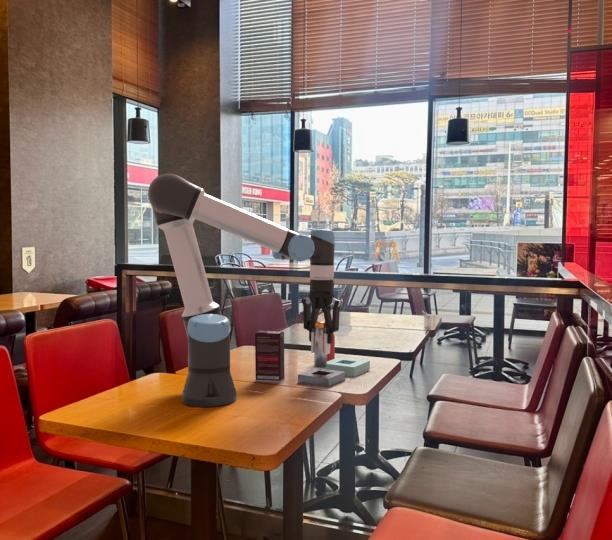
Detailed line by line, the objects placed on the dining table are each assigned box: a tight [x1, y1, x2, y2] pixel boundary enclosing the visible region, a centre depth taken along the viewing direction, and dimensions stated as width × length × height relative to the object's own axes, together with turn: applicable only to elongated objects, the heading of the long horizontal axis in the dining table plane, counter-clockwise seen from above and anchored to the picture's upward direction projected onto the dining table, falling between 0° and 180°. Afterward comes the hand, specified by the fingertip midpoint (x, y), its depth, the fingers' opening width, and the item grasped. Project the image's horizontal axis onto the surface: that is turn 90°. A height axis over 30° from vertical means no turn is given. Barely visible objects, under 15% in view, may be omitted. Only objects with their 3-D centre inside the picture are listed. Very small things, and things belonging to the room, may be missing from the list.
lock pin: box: [313, 320, 327, 369], centre depth 183 cm, size 4×4×14 cm
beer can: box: [327, 332, 336, 361], centre depth 213 cm, size 7×7×12 cm
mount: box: [297, 367, 346, 388], centre depth 184 cm, size 11×11×3 cm
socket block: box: [321, 356, 371, 378], centre depth 198 cm, size 12×12×4 cm
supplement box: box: [254, 330, 286, 384], centre depth 185 cm, size 9×5×16 cm, turn 76°
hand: (320, 352), depth 183 cm, fingers closed on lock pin, 4 cm apart
